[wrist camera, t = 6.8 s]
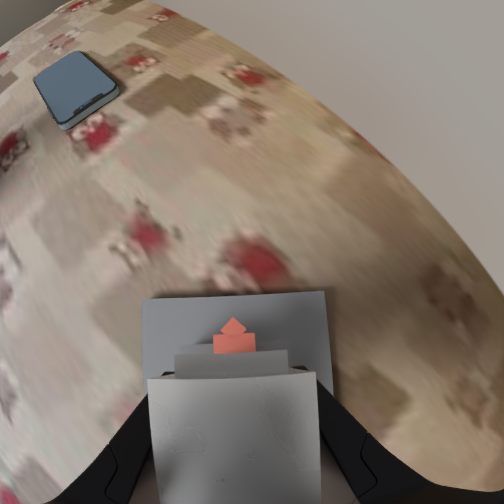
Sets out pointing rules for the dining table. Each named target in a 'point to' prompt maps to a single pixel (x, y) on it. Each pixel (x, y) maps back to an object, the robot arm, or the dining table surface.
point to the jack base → (237, 330)
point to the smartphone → (74, 89)
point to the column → (235, 430)
